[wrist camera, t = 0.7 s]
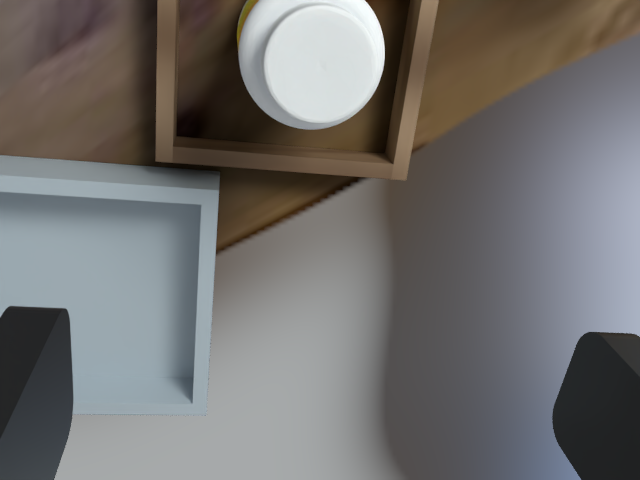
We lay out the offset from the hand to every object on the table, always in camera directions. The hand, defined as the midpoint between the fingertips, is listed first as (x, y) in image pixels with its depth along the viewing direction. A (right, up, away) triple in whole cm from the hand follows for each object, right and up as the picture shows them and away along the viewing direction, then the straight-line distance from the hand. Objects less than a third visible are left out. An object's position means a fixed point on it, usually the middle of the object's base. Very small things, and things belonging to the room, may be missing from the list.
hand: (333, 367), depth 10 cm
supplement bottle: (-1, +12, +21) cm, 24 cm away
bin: (-13, 0, +24) cm, 27 cm away
